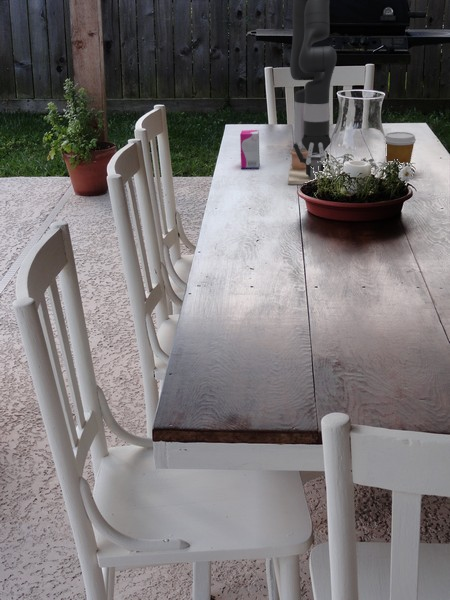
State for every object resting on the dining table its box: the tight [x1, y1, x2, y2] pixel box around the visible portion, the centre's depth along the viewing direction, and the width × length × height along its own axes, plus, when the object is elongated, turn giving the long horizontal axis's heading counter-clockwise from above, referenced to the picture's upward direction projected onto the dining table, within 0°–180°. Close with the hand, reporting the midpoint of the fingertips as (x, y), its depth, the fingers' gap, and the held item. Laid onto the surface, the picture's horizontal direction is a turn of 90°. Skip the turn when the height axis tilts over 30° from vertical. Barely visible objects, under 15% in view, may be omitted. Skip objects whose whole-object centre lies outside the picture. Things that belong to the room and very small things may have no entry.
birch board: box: [287, 156, 321, 185], centre depth 245 cm, size 24×10×7 cm, turn 174°
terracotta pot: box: [289, 148, 308, 170], centre depth 248 cm, size 6×6×6 cm
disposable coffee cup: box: [384, 131, 417, 164], centre depth 242 cm, size 10×10×12 cm
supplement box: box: [239, 129, 261, 170], centre depth 254 cm, size 6×6×12 cm
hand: (315, 175), depth 238 cm, fingers closed on birch board, 3 cm apart
